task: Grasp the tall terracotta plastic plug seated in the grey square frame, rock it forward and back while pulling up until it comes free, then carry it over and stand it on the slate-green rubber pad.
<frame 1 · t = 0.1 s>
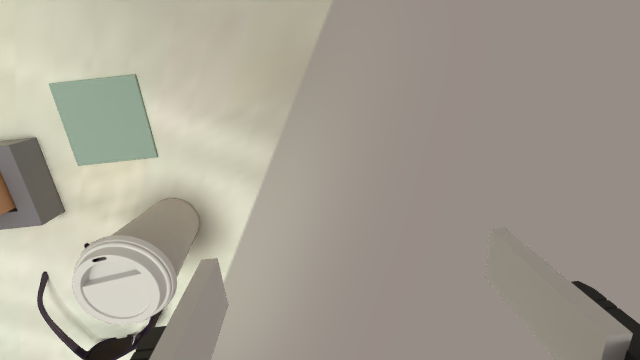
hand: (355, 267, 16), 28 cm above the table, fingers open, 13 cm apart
grey square frame: (11, 180, 43), on the table
coffee cup: (175, 219, 46), on the table
sunglasses: (107, 293, 49), on the table
pad: (106, 121, 41), on the table
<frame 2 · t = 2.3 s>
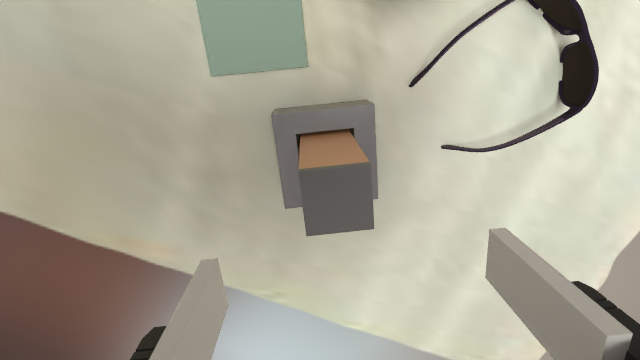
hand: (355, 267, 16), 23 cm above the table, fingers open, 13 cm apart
grey square frame: (325, 149, 38), on the table
sunglasses: (487, 79, 37), on the table
pad: (252, 18, 33), on the table
plug: (329, 169, 31), in the grey square frame
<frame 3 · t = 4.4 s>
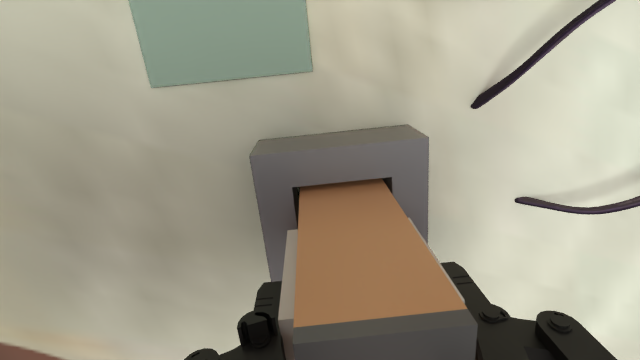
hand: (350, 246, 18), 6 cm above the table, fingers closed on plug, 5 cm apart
grey square frame: (339, 201, 24), on the table
sunglasses: (595, 96, 23), on the table
plug: (353, 259, 17), in the grey square frame, touching gripper
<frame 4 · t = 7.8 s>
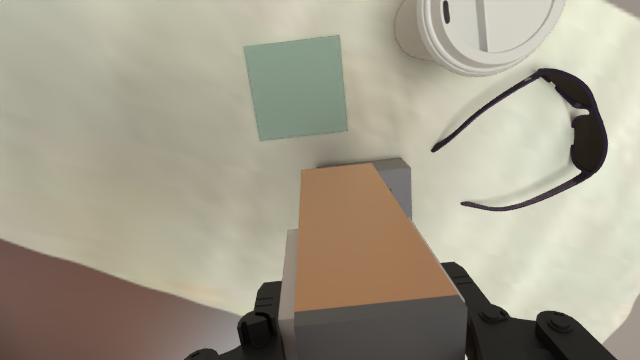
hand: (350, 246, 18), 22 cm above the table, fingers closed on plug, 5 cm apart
grey square frame: (361, 201, 41), on the table
coffee cup: (424, 25, 35), on the table
sunglasses: (503, 143, 40), on the table
pad: (297, 90, 36), on the table
plug: (352, 253, 17), point 22 cm above the table, touching gripper
when the fingers open (8 cm above the table, at t = 11.4 s): plug stays where it is, resting on pad.
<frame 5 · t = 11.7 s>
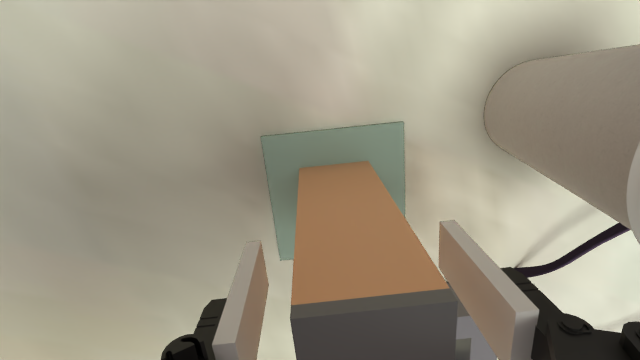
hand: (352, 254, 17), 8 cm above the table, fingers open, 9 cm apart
grey square frame: (416, 331, 30), on the table
coffee cup: (527, 107, 24), on the table
sunglasses: (604, 263, 29), on the table
pad: (337, 194, 25), on the table
plug: (348, 249, 18), resting on pad
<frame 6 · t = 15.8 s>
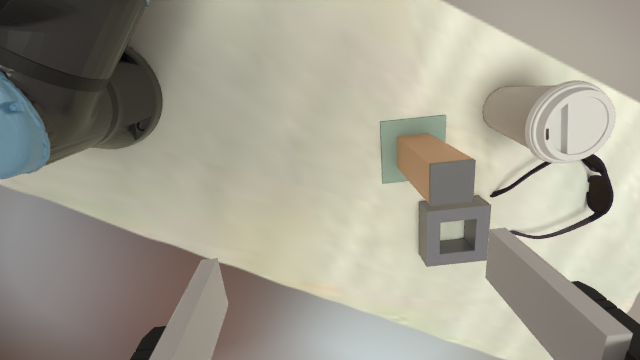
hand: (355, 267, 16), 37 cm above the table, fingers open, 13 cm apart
grey square frame: (447, 225, 57), on the table
coffee cup: (503, 108, 51), on the table
sunglasses: (540, 191, 56), on the table
pad: (412, 150, 53), on the table
plug: (429, 164, 45), resting on pad
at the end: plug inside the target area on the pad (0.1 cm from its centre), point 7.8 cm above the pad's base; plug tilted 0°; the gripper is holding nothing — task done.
